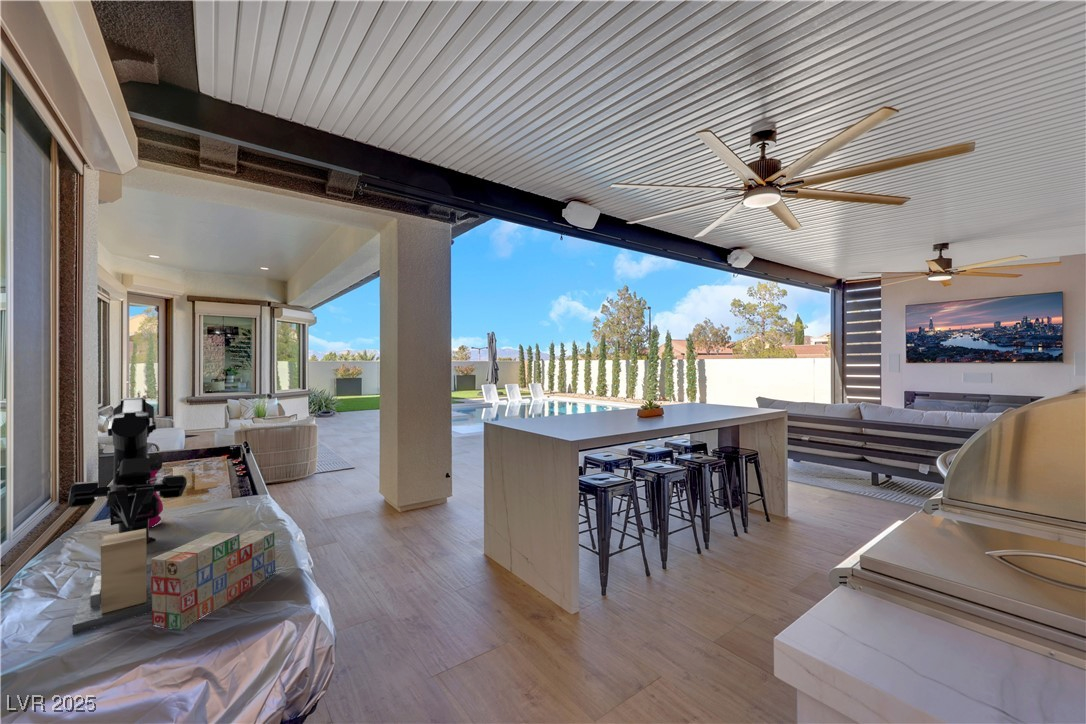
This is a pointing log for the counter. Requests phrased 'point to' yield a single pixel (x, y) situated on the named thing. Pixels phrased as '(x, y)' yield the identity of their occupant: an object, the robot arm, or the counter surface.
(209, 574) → the stack of blocks
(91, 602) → the chute
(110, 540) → the oak block
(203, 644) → the counter surface
